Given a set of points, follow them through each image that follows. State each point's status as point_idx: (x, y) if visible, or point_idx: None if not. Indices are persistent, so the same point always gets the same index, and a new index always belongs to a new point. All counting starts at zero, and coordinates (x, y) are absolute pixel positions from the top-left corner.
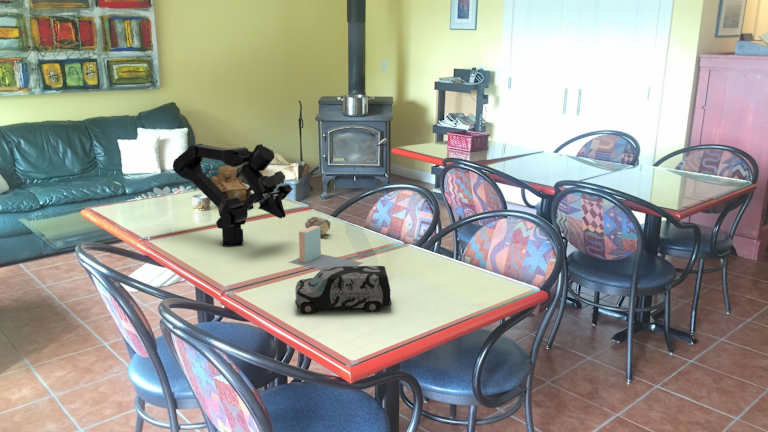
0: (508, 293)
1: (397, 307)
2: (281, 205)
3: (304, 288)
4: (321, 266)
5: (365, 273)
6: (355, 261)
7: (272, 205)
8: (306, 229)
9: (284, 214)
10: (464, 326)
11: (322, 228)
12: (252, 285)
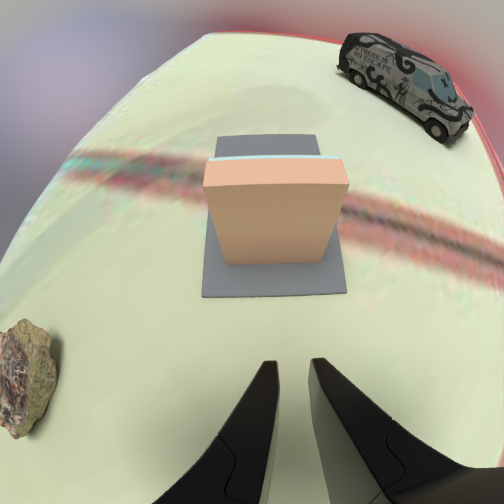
0: (233, 36)
1: None
2: (240, 447)
3: (464, 103)
4: None
5: (393, 41)
6: (217, 150)
7: (434, 453)
8: (294, 174)
9: (275, 368)
10: (334, 40)
11: (34, 342)
12: (489, 252)
